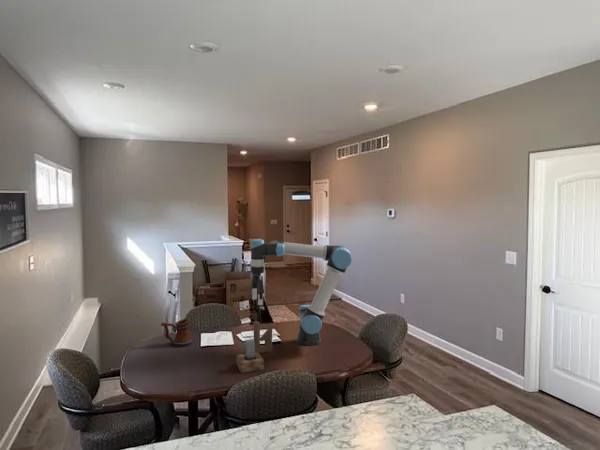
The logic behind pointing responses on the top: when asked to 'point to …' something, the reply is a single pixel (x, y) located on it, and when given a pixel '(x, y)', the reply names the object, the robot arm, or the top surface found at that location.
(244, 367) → the socket block
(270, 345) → the brown braced frame
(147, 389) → the top surface
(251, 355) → the peg
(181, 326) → the mug
